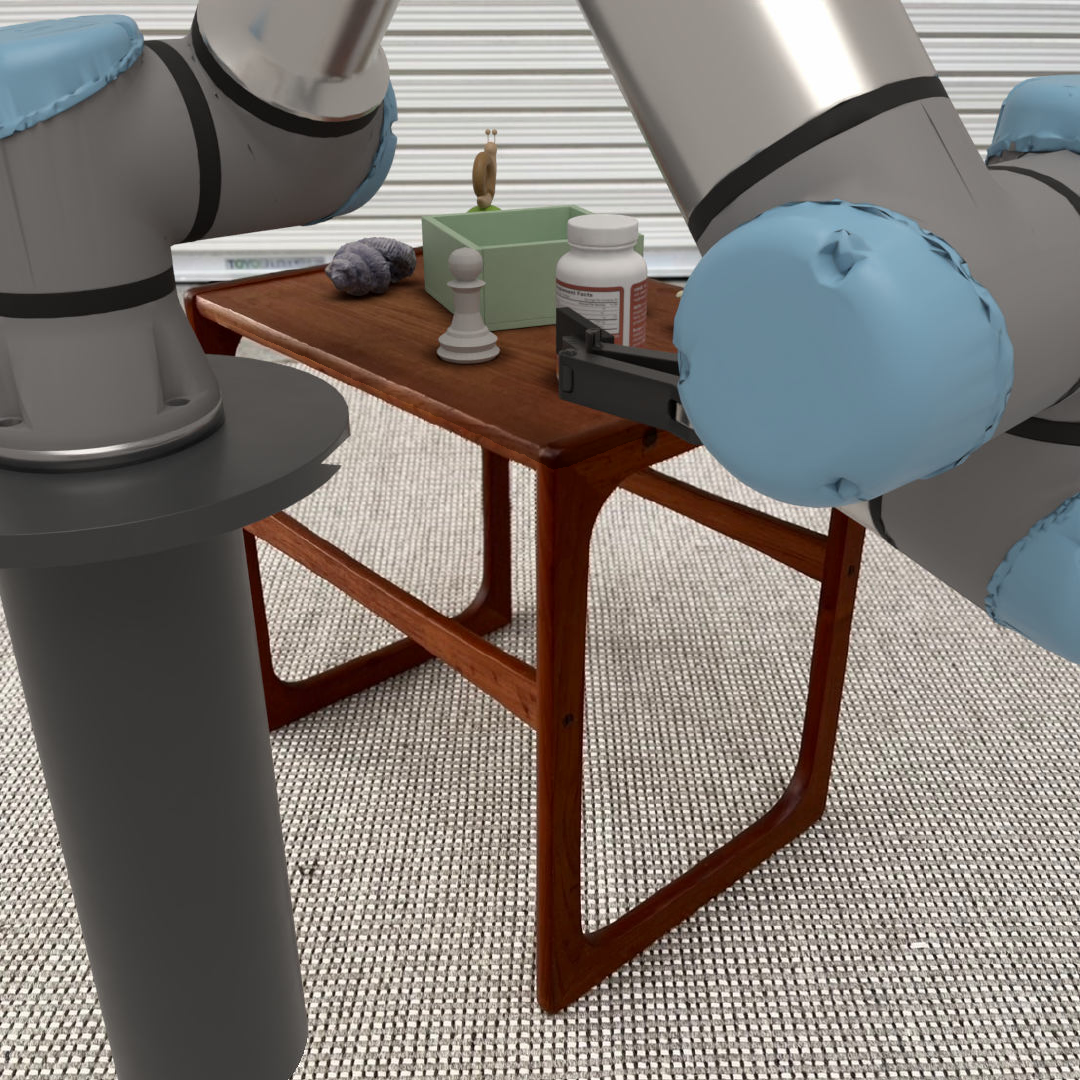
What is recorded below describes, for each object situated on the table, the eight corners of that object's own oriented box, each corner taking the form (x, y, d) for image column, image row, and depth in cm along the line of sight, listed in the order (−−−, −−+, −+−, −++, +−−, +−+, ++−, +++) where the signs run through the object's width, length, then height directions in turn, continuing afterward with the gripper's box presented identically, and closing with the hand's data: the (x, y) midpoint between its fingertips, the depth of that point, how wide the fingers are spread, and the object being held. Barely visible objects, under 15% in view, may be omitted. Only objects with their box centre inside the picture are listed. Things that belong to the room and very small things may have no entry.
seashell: (401, 292, 108) (334, 320, 100) (369, 243, 107) (299, 268, 99) (436, 262, 104) (370, 289, 97) (403, 211, 104) (334, 234, 96)
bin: (475, 333, 91) (473, 249, 88) (424, 290, 103) (421, 216, 100) (641, 314, 96) (644, 234, 93) (574, 276, 108) (574, 204, 105)
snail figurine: (520, 253, 117) (519, 129, 111) (507, 267, 111) (505, 137, 106) (468, 251, 118) (464, 128, 112) (453, 265, 112) (448, 136, 107)
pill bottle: (610, 362, 84) (614, 207, 79) (662, 385, 79) (669, 222, 74) (539, 377, 81) (538, 217, 76) (587, 402, 76) (590, 233, 71)
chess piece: (424, 358, 85) (418, 249, 82) (460, 342, 89) (457, 237, 85) (476, 368, 83) (473, 257, 79) (511, 351, 86) (510, 244, 83)
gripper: (625, 558, 49) (471, 403, 67) (1080, 474, 57) (834, 355, 75) (631, 391, 46) (467, 274, 63) (1113, 326, 54) (848, 239, 71)
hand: (665, 318), depth 69 cm, fingers open, 13 cm apart
